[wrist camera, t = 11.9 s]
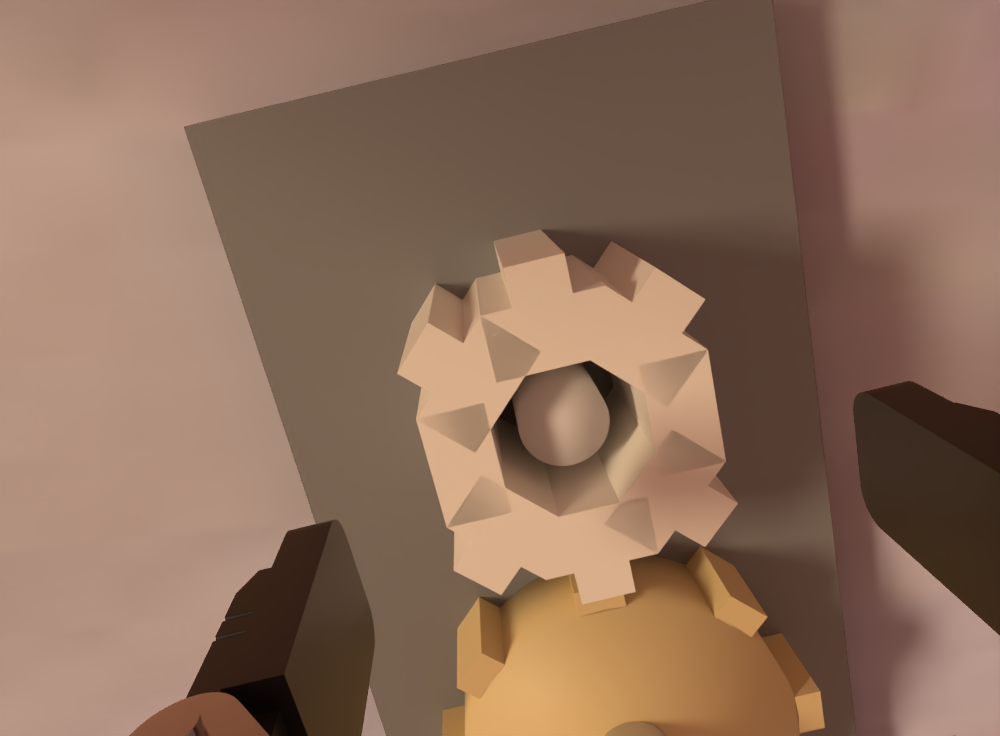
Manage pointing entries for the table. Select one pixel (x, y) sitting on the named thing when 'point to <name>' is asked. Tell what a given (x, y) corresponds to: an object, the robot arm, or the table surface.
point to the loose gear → (631, 403)
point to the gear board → (583, 187)
